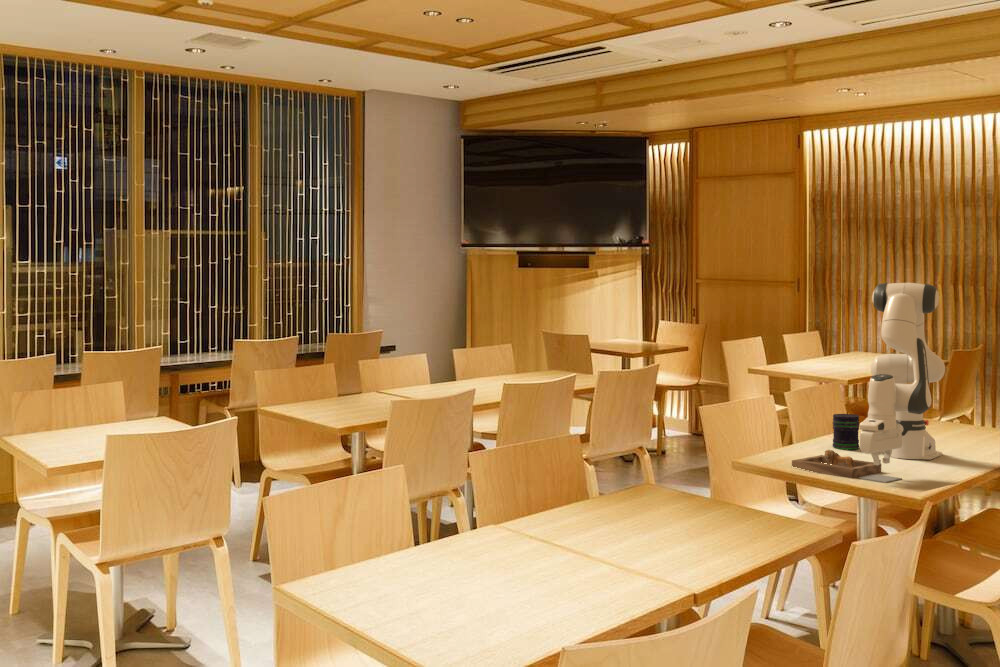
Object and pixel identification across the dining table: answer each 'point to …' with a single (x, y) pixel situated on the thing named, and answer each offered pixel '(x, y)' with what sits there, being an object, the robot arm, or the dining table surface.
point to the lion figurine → (838, 459)
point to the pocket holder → (837, 467)
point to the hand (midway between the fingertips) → (881, 464)
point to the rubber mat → (880, 478)
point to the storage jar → (846, 431)
